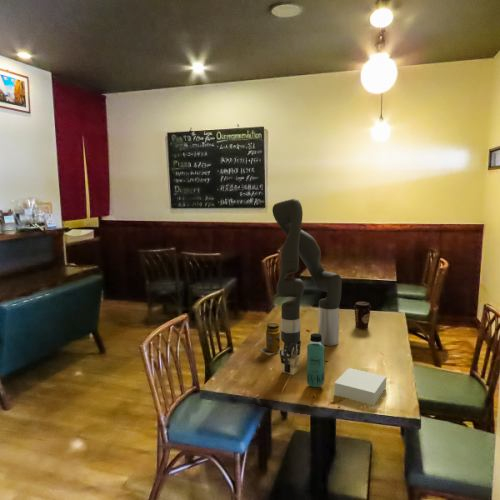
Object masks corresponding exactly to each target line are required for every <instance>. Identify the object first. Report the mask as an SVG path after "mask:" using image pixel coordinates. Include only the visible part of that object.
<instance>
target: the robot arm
mask: <svg viewBox="0 0 500 500" xmlns="http://www.w3.org/2000/svg"><path fill="white" fill-rule="evenodd" d="M271 210H272V216H273V218H274V219H275V222H276V223H277V224H278V226H279V227H280V229H282V231H283V232H284V234H285V235H286V236H287V237H286V239H285V240H284V243H283V245H282V248H281V252H280V272H279V276H278V277H279V278H278V281H277V283H276V293H277V295H278V296H279V297H282V298H293V299H292V300H289V301H284V302H283V303H282V304H281V309H280V311H281V318H280V319H281V320H280V341H281V342H283V348H282V349H281V350H280V352H279V358H280V363H281V365H282V364H284V369H285V372H286V373H285V374H287V373H290V360H291V358H292V356H293V355H297V356H300V354H301V343H302V340H301V319H300V317H301V316H300V315H301V313H300V312H301V311H300V310H301V309H300V308H301V307H300V306H301V301H302V297H303V295H304V292H305V284H304V281H303V280H302V279H301V278H287V277H288V276H289V275H292V274H296V273H297V272H299V270H300V262H299V261H300V259H301V260H302V262H303V264H304V265H305V267H306V269H307V271H308V272H309V274H310V277H311V278H312V281H313V283H314V285H315V287H316V288H317V290H319V291H321V292H324V293H326V297H325V298H321V299H319V300H318V334H321V336H322V341H321V342H320V343H322V344H323V345H324V346H327V347H328V346H331V347H332V346H337V345H338V344H339V334H340V333H339V331H340V303H341V299H342V285H343V283H342V282H343V281H342V277H341V275H340V274H338V273H336V272H330V271H326V270H325V269H324V267H323V266H322V263H321V256H322V252H321V249H320V246H319V244H318V243H317V241H316V240H315V238H314V237H313V236H312V235H310V233H308V232H307V231H304V230H303V229H302V223H303V214H304V213H303V206H302V204H301V201H299V200H298V199H297V198H292V199H286V200H284V201H280V202H277V203H275V204H274V205H273V206H272V209H271ZM287 354H288V355H290V356H288V355H287ZM283 359H284V360H283Z"/></svg>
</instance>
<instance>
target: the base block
mask: <svg viewBox="0 0 500 500" xmlns="http://www.w3.org/2000/svg"><path fill="white" fill-rule="evenodd" d="M385 388H386V389H387V376H386V375H381V374H378V373H373V372H368V371H363V370H359V369H355V368H351V367H347V369H346V370H345V371H344V372H343V373H342V374H341V375H340V376H339V378H337V380H335V381H334V396H336V397H340V396H341V397H340V398H343V397H345V398H344V399H347V398H349V399H348V400H351V399H353V400H352V401H354V400H356V401H355V402H358V401H360V402H359V403H362V402H363V403H362V404H365V403H367V405H369V404H371V405H370V406H373V405H375V406H376V404H377V403H376V402H378V401H379V400H380V398H381V397H382V395H383V394H384V392H385V391H386V389H385ZM384 390H385V391H384ZM383 391H384V392H383ZM382 393H383V394H382ZM381 394H382V395H381ZM380 396H381V397H380ZM379 397H380V398H379ZM378 399H379V400H378ZM377 400H378V401H377ZM375 403H376V404H375Z"/></svg>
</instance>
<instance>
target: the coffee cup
mask: <svg viewBox="0 0 500 500" xmlns="http://www.w3.org/2000/svg"><path fill="white" fill-rule="evenodd" d="M353 309H354V317H355V318H354V322H355V325H354V327H355V329H357V330H362V331H363V330H367V329H369V323H370V317H371V309H372V306H371V305H370V302H368V301H357V302H355V304H354V305H353Z"/></svg>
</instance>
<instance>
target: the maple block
mask: <svg viewBox="0 0 500 500" xmlns="http://www.w3.org/2000/svg"><path fill="white" fill-rule="evenodd" d="M287 355H288V354H287ZM288 356H290V355H288ZM283 360H284V359H283ZM298 372H300V355H298V356H297V355H293V356H292V358H291V360H290V373H286V372H285V369H284V364H282V363H281V373H284V374H287V375H292V376H295V374H297V373H298Z"/></svg>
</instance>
